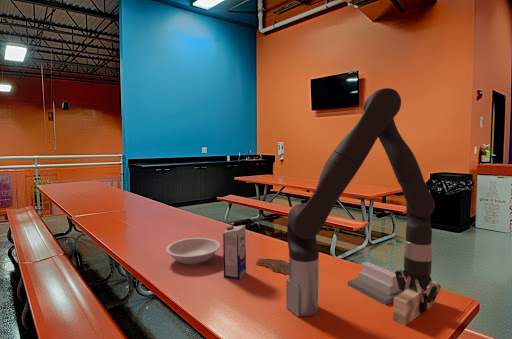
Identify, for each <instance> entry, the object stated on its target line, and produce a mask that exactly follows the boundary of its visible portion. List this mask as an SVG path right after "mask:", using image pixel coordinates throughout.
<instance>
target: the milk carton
mask: <svg viewBox="0 0 512 339" xmlns="http://www.w3.org/2000/svg"><path fill="white" fill-rule="evenodd" d="M246 236H247V235H246V224H244V225H243V224H242V225H238V226H234V225H230V226H227V227H226V230H225V231H223V232H222V252H223V253H222V256H223V278H225V279H231V280H238V281H240V280H241V279H242V278H243V277H244V276H245V275H246V273H247V253H246V252H247V250H246V248H247V247H246Z"/></svg>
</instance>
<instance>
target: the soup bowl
mask: <svg viewBox="0 0 512 339" xmlns="http://www.w3.org/2000/svg"><path fill="white" fill-rule="evenodd" d="M221 247H222V244H221V243H220V241H218V240H216V239H213V238H209V237H208V238H207V237H190V238H189V237H188V238H183V239H180V240H176V241H174V242H171V243H170V244H168V245H167V246H166V247H165V252H166V253H167V254H168V255H170V256H171V258H172V259H173V260H175V261H176V262H178V263H181V264H184V265H185V264H186V265H196V264H201V263H204V262H207V261H208V260H210V259H211V258H213V257H214V255H215V254H216V252H218V251H219V250H220V249H221Z"/></svg>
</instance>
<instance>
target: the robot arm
mask: <svg viewBox="0 0 512 339" xmlns="http://www.w3.org/2000/svg"><path fill="white" fill-rule="evenodd" d="M401 106H402V97H401V95H400V93H399V92H398V91H397V90H395V89H393V88H390V87H387V88H386V87H385V88H381V89H378V90H376V91H374V92H373V93H372V94H371V95H369V97H368V98H366V99H365V101H364V103H363V108H362V110H363V113H362V114H361V117H360V118H359V119H358V121H357V123H356V124H355V126H353V128H352V129H351V130H350V131H349V132H348V133H347V134H346V136H345V137H344V138H343V139H342V140H341V141H339V144H337V146H336V147H335V148H334V150H333V151H332V153H331V154H330V156H329V158H328V159H327V160H326V162H325V163H324V166H323V168H322V171H321V173H320V176H319V179H318V183H317V185H316V187H315V190H314V191H313V193H312V195H311V196H310V198H309V199H308V200H307V202H306V203H298V204H296V205H294V206H292V207H291V208H290V210H289V212H288V214H287V219H286V220H287V221H286V222H287V223H286V225H287V228H286V230H287V247H288V263H289V275H288V279H286V289H285V291H286V292H285V293H286V295H285V296H286V299H285V300H286V303H285V304H286V306H285V308H286V309H287V310H289V311H290V312H291V313H292V314H294V315H295V316H296V317H298V318H299V317H310V316H314V315H317V313H318V312H319V280H320V279H319V274H320V269H319V267H320V266H319V265H320V264H319V263H320V260H319V259H320V256H319V255H320V250H319V246H318V242H317V235H318V234H320V232H321V231H322V229H323V227H324V225H325V223H326V221H327V219H328V218H329V215H330V214H331V212H332V210H333V209H334V207H335V205H336V203H337V202H338V200H339V199H340V198H341V197H342V196H341V195H343V193H344V192H345V190H346V189H347V187H348V186H349V184H350V182H351V181H353V178H354V177H355V176H356V174H357V173H358V172H359V170H360V168H361V166H362V165H363V163H364V162H365V160H366V158H367V157H368V155H369V153H370V152H371V151H372V149H373V147H374V145H375V143H376V141H377V140H378V139H379V141H380V143H381V146H382V147H383V149H384V151H385V154H386V156H387V159H388V160H389V161H388V162H389V163H390V165H391V168H392V171H393V173H394V176H395V178H396V180H397V182H398V184H399V186H400V187H401V188H400V189H401V190H402V193H403V196H404V199H405V202H406V203H405V205H406V208H405V209H406V212H405V213H406V228H405V243H404V249H403V250H404V251H403V252H404V253H403V254H404V255H403V269H398V270H395V271H394V273H395V274H396V278H397V282H398V286H399V289H400V290H402V291H403V292H404V291H405V290H407V289H409V288H412V287H415V288H416V289H417V291H418V293H419V294H420V300H421V301H420V308H419V312H420V313H421V314H423V313H426V312H427V311H428V309H427V303H430V302H432V301H434V300H435V298H437V296H438V294H439V292H440V290H441V285H440V284H437V283H436V284H435V283H433V282H432V281H433V280H432V278H431V274H432V264H433V263H432V261H433V260H432V258H433V247H432V246H433V245H432V243H433V242H432V240H433V228H432V224H431V215H432V214H433V212H434V211H435V205H436V204H435V200H434V198H433V196H432V193H431V191H430V189H429V188H428V185H427V184H426V181H425V179H424V177H423V173H422V171H421V168H420V166H419V163H418V161H417V158H416V155H414V153H413V151H412V149H411V148H410V146H409V145H408V143H406V141H405V139H403V137H402V135H401V134H400V132H399V130H398V128H397V125H396V122H395V117H396V116H397V115H398V113H399V111H400V109H401ZM428 285H430V290H431V291H430V293H429V295H428V287H427V286H428ZM422 289H423V290H422Z"/></svg>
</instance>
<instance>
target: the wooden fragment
mask: <svg viewBox="0 0 512 339" xmlns="http://www.w3.org/2000/svg"><path fill="white" fill-rule="evenodd" d="M255 264H256V266H261V267H265V268H269V269H270V270H272V271H273V272H276V273H281V274H283V275H285V276H289V262H288V261H286V260H281V259H273V258H264V257H259V258H258V259H257V260H256V262H255Z"/></svg>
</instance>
